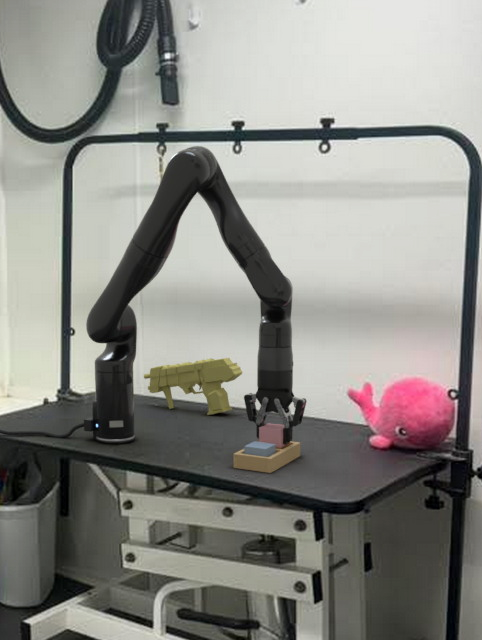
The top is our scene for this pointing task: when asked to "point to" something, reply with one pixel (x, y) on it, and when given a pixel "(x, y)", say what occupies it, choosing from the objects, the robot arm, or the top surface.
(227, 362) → the firearm
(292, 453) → the pad holder
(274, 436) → the pink block
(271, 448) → the blue block
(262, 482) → the top surface
